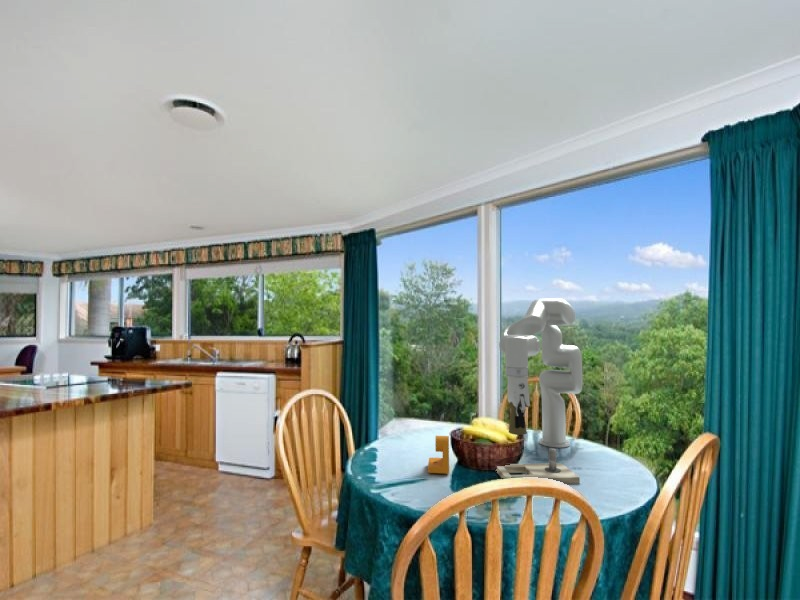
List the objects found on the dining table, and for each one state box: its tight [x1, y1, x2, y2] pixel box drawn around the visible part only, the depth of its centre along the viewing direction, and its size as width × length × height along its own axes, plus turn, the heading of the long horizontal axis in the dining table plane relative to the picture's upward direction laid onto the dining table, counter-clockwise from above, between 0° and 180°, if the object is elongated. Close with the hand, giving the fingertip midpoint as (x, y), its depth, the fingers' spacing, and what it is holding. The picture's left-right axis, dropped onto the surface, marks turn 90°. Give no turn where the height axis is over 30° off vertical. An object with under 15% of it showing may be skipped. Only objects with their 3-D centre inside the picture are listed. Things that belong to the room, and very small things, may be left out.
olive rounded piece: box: [508, 401, 528, 436], centre depth 147 cm, size 6×6×11 cm
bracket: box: [427, 435, 450, 474], centre depth 153 cm, size 11×7×12 cm, turn 174°
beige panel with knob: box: [495, 447, 581, 485], centre depth 146 cm, size 14×24×9 cm, turn 92°
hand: (517, 425), depth 147 cm, fingers closed on olive rounded piece, 4 cm apart
